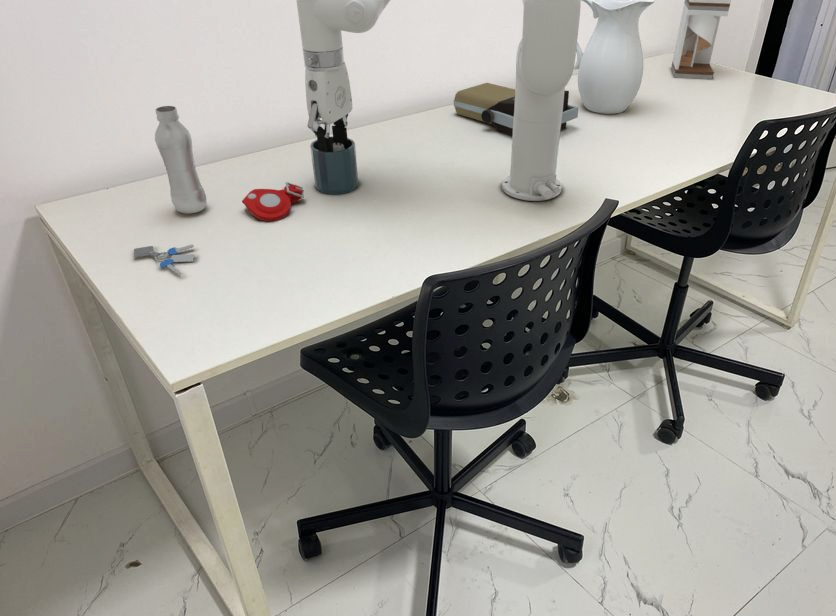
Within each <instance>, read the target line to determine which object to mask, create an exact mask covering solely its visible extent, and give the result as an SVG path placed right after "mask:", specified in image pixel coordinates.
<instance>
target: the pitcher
mask: <svg viewBox="0 0 836 616" xmlns="http://www.w3.org/2000/svg"><path fill="white" fill-rule="evenodd" d="M581 2H584V3H585V4H587V6H588V7H589V8H590V9H591V11H592V16H593V18H594V19H597V22H596V24H595V28H594V30H593V32H592V34H591V36H590V38H589V39H588V42H587V44H586V46H585V48H584V51H583V50H582V47H581V46H580V44H579V41H577V47H576V62H575V64H574V70H576V71H577V70H578V72H577V88H578V93H579V96H580V99H581V101H582V103H583V106H584V107H585V109H587V110H588V111H590V112H594V113H598V114H602V115H603V114H605V115H616V114H620V113H622V112H625V111H626V110H627V109H628V108H629V107H630V105H631V104H632V103H633V101H634V100H635V98H636V96H637V95H638V93H639V90H640V87H641V85H642V82H643V81H642V80H643V75H644V51H643V47H642V42H641V35H640V32H639V22H640V17H641V15H642V14H643V12H644V11H645V10H647V8H649V7H650V6H651V5H653V4H654V3H655V0H620V1H619V0H581ZM574 70H573V71H574Z"/></svg>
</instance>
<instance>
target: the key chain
mask: <svg viewBox="0 0 836 616" xmlns="http://www.w3.org/2000/svg"><path fill="white" fill-rule="evenodd" d="M194 246H195V245H194V244H188V245H185V246H182V247H176V246H175V247H170V248H168V250H167V251H163V252H156V251H154V245H149V246H143V247H135V248H134V249H133V257H134V258H141V257H147V256H149V257H152V258H154V259H155V261H157V262H160V263H159V267H160V268H169V269H170V270H171V271H172V272H174V273H176V274H178V275H179V276H180V275H182V273H181V272H180V270H179V269H178V268H176V267H175V266H173V263H187V262H188V263H189V262H191V263H192V262H194V258H195V254H194V253H191V254H189V253H188V254H179V253H181V252H182V251H187V250H189V249H192V248H194Z"/></svg>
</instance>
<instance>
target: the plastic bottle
mask: <svg viewBox="0 0 836 616" xmlns="http://www.w3.org/2000/svg"><path fill="white" fill-rule="evenodd" d="M155 115H156V121H157V122H159V123H158V125H157V128H156V130H155V131H154V142H155V145H156V147H157V149H158V151H159V154H160V156H161V159H162V162H163V163H164V167H165V170H166V173H167V177H168V178H167V179H168V184H169V189H170V190H169V193H170V201H171V203H172V205H173V207H174V210H177V211H178V212H179V213H182V214H187V215H189V214H195V213H199V212H202V211H203V210H204V209H205V208H206V206H207V194H206V192H205V190H204V188H203V185H202V183H201V181H200V178H199V174H198V171H197V168H196V163H195V158H194V157H195V156H194V151H193V140H192V135H191V133H190V131H189V130H188V128H187V127H186V126H185V125H184V124H182V123H181V122H180V121H179V119H180V115H179V114H178V110H177V107H176V106H174V105H163V106H159V107H157V108H155Z"/></svg>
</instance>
